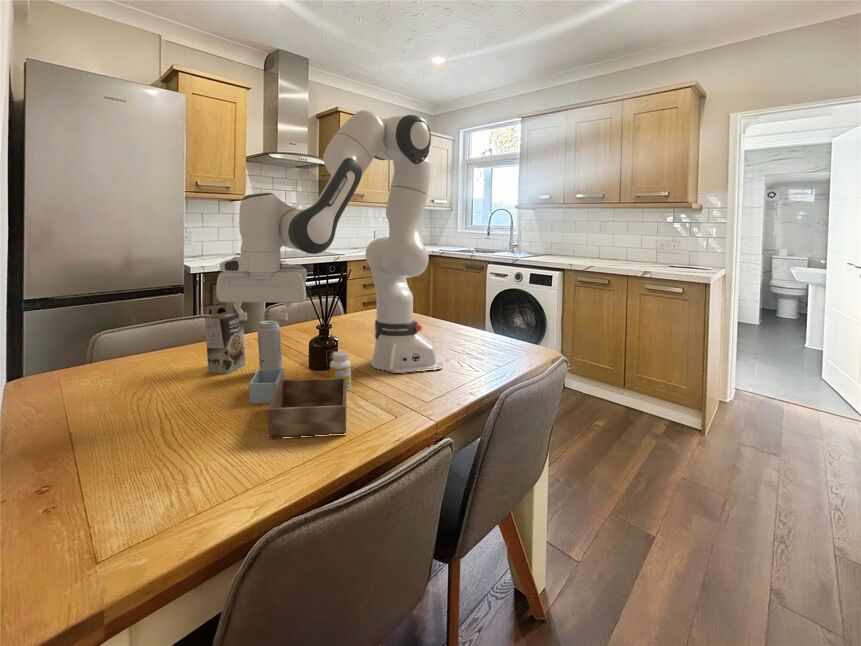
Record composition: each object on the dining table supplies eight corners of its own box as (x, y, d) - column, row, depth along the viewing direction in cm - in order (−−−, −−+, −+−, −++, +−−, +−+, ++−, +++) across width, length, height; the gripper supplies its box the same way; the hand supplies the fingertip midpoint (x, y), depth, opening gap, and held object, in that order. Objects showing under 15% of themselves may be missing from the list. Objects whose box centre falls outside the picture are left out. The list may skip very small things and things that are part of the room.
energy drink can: (259, 370, 131) (257, 320, 128) (281, 368, 134) (279, 319, 130) (260, 377, 126) (257, 325, 123) (282, 375, 128) (280, 324, 125)
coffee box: (227, 374, 127) (223, 318, 124) (207, 372, 129) (203, 317, 125) (246, 364, 136) (243, 312, 133) (227, 362, 137) (224, 311, 134)
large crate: (346, 403, 110) (346, 378, 109) (345, 435, 94) (345, 406, 92) (281, 405, 108) (280, 379, 106) (269, 439, 91) (267, 409, 90)
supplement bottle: (331, 384, 122) (331, 350, 120) (351, 384, 123) (351, 350, 121) (329, 391, 117) (328, 356, 115) (349, 391, 117) (349, 356, 115)
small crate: (284, 386, 120) (283, 368, 119) (277, 402, 109) (277, 383, 108) (259, 387, 119) (258, 369, 117) (250, 403, 108) (248, 384, 107)
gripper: (307, 263, 111) (308, 317, 115) (219, 261, 108) (223, 317, 111) (305, 265, 105) (306, 323, 108) (212, 263, 102) (216, 323, 105)
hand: (263, 320), depth 110 cm, fingers open, 8 cm apart
